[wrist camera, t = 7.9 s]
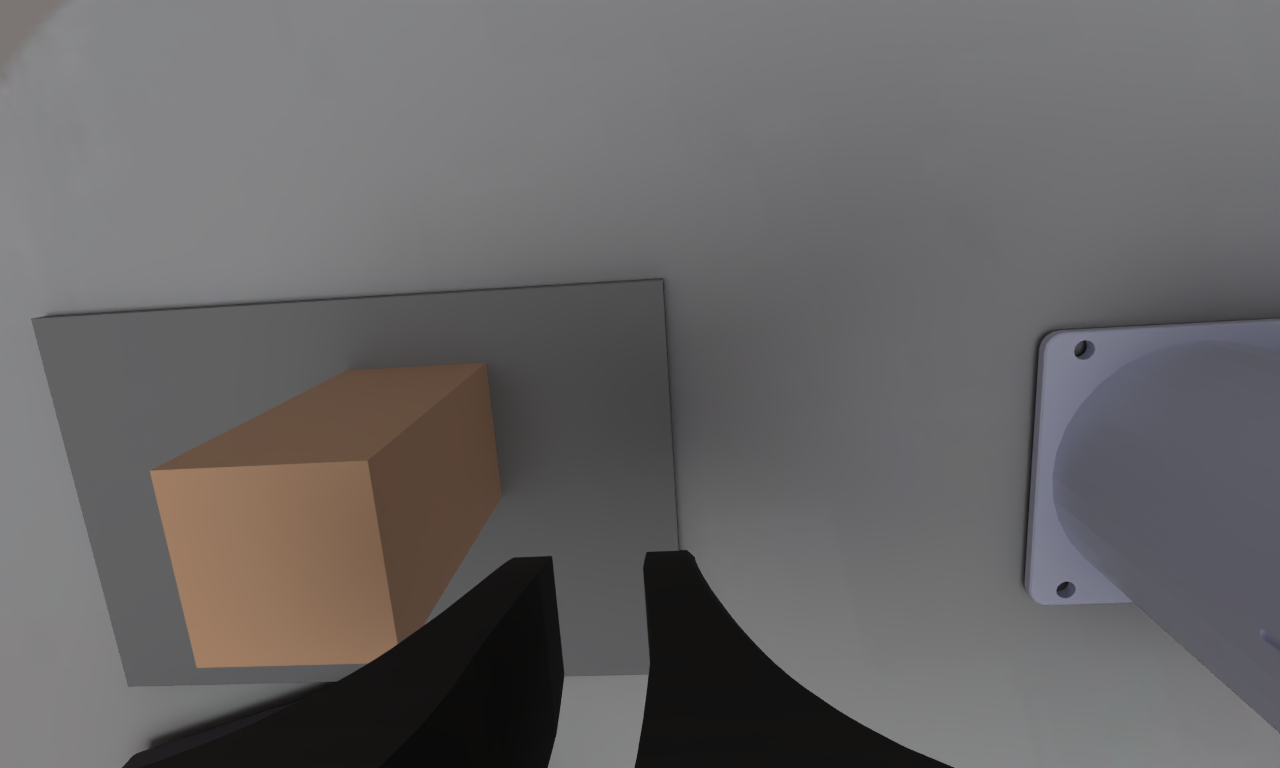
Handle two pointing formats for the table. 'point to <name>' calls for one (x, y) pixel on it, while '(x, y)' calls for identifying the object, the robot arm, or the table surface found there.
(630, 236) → the table surface
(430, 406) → the block
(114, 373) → the mat
